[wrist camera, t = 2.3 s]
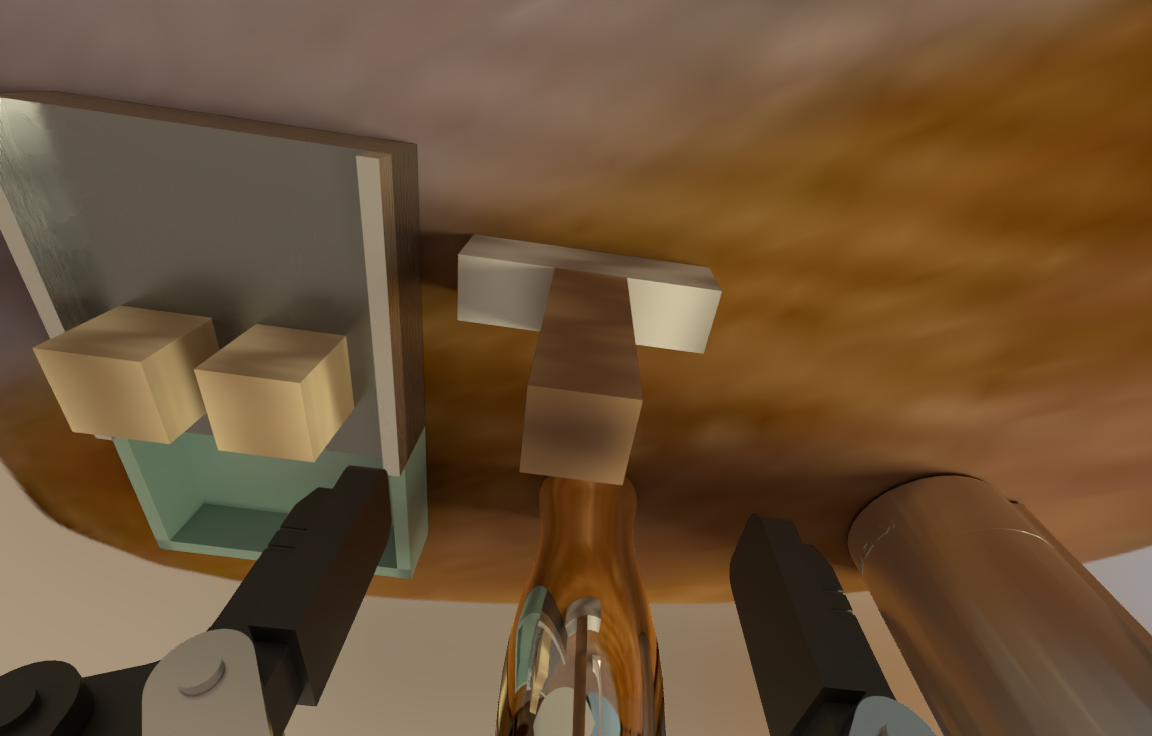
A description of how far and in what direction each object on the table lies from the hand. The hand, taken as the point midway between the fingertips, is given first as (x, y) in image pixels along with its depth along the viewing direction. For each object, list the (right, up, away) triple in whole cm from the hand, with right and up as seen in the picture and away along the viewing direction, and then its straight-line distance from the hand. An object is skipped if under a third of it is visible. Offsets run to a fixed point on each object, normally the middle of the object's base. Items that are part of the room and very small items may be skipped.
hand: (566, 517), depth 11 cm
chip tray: (-16, -3, +20) cm, 26 cm away
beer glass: (+1, -5, +20) cm, 21 cm away
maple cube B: (-18, +4, +12) cm, 22 cm away
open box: (-15, +7, +14) cm, 22 cm away
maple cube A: (-12, +3, +12) cm, 18 cm away
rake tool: (+1, +8, +13) cm, 15 cm away
